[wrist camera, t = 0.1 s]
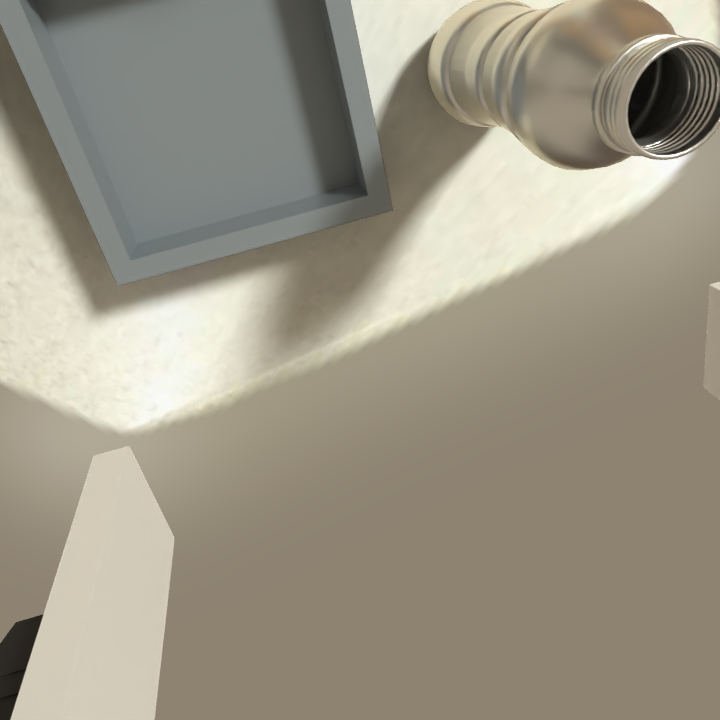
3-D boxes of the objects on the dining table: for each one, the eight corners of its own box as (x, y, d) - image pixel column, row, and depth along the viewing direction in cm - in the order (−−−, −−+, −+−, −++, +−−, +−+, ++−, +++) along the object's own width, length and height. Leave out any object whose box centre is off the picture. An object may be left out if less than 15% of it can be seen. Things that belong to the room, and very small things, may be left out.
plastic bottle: (532, 105, 39) (769, 177, 22) (425, 131, 39) (580, 226, 22) (525, -15, 36) (793, -42, 19) (408, 12, 36) (573, 11, 19)
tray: (-1, -37, 32) (-30, -44, 28) (314, -117, 33) (323, -133, 29) (127, 262, 40) (117, 286, 36) (379, 193, 40) (392, 210, 37)
